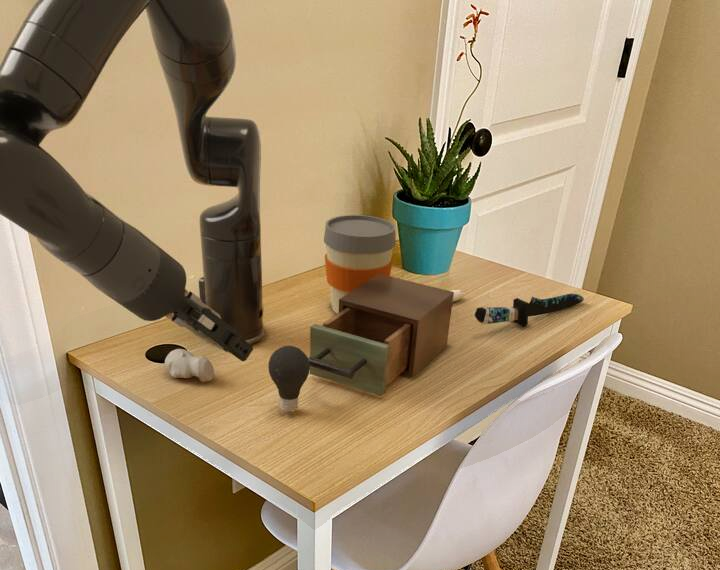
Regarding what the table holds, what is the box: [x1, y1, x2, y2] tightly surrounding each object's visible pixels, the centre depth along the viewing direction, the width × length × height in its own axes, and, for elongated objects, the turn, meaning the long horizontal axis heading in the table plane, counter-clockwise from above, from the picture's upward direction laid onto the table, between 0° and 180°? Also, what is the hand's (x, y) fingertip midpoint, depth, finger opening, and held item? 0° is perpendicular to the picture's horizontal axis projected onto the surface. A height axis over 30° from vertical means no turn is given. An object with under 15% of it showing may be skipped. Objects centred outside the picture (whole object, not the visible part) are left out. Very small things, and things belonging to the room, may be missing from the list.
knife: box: [474, 293, 585, 327], centre depth 136 cm, size 31×3×4 cm, turn 125°
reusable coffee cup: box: [323, 214, 397, 314], centre depth 133 cm, size 12×13×15 cm
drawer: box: [308, 307, 413, 397], centre depth 112 cm, size 18×12×8 cm
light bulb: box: [267, 345, 310, 414], centre depth 103 cm, size 6×6×10 cm
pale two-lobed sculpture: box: [164, 348, 215, 383], centre depth 112 cm, size 4×8×5 cm
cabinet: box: [339, 274, 454, 379], centre depth 121 cm, size 14×14×10 cm
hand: (228, 341), depth 93 cm, fingers open, 8 cm apart
